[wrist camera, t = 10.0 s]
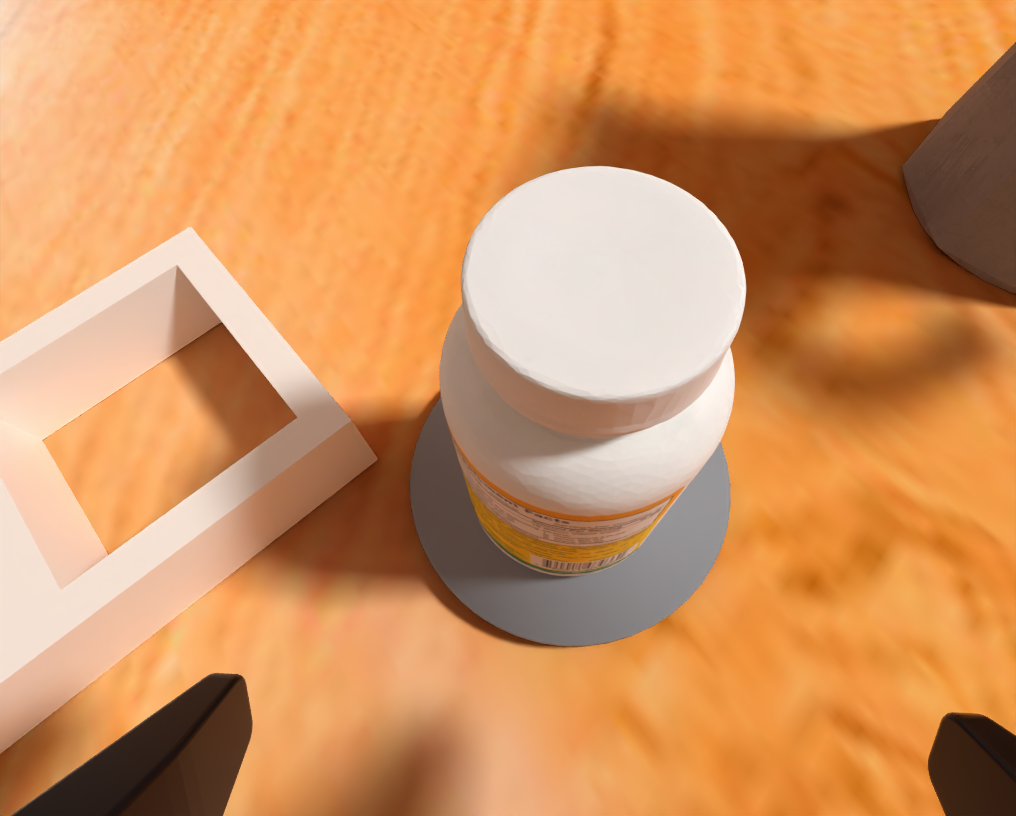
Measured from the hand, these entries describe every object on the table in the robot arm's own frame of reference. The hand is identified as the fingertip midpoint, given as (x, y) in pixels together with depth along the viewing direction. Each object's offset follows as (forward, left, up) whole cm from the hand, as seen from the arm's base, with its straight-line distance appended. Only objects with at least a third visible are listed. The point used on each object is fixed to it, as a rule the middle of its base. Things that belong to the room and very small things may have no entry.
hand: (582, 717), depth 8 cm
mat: (+4, +4, -8) cm, 10 cm away
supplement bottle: (+4, +4, -8) cm, 10 cm away
